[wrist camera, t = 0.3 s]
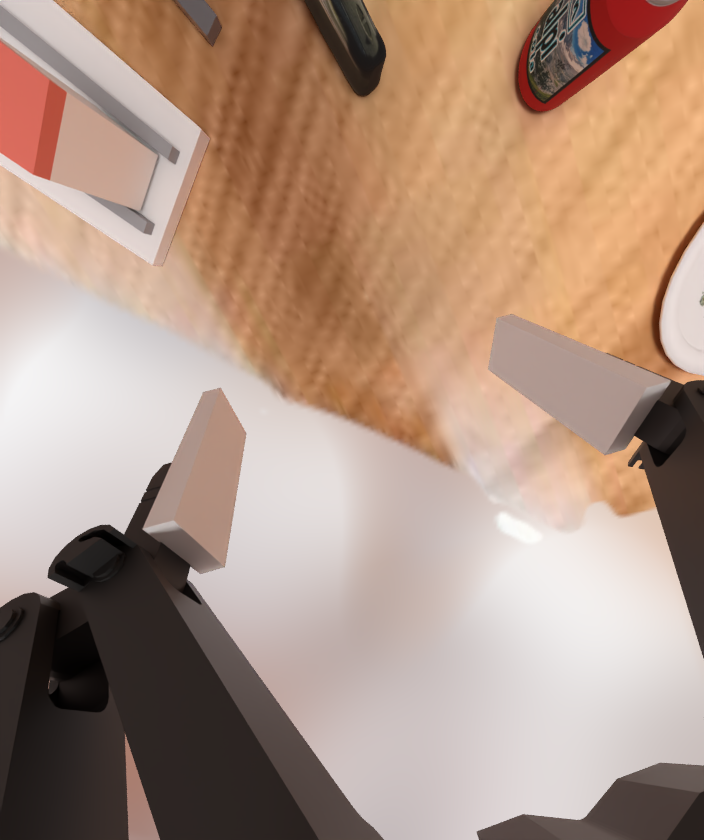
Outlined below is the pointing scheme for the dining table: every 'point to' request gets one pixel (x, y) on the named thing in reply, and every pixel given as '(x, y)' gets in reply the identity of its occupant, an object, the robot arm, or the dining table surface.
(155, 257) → the gray railed slide base
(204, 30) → the gray rectangular bar
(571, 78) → the beverage can
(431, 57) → the dining table surface
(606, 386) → the robot arm
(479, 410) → the dining table surface
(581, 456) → the dining table surface
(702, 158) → the dining table surface
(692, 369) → the plated food
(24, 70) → the toggle
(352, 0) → the mobile phone
